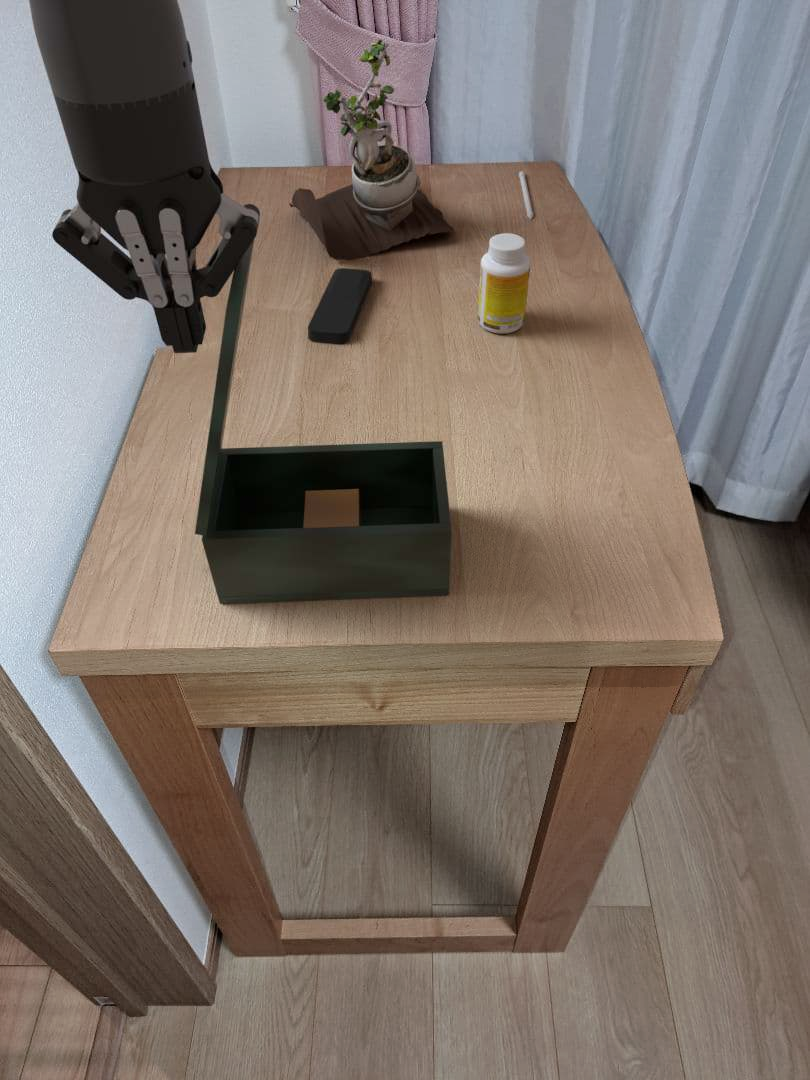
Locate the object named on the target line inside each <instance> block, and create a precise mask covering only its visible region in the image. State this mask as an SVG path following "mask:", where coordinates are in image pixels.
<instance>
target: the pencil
mask: <svg viewBox="0 0 810 1080" xmlns="http://www.w3.org/2000/svg"><path fill="white" fill-rule="evenodd" d="M518 178H519V180H520V186H521V192H522V195H523V200H524V205H525V210H526V214H527V215H526V216H527V218H528V219H529V220H532V219H534V213H533V208H532V204H531V203H532V202H531V198H530V193H529V189H528V184H527V180H526V179H527V178H526V174H525V172H524V170H523V171H519V173H518Z"/></svg>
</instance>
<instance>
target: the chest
mask: <svg viewBox="0 0 810 1080" xmlns="http://www.w3.org/2000/svg"><path fill="white" fill-rule="evenodd" d="M444 453H445V452H444V445H443V441H442V440H438V441H437V440H435V441H433V440H432V441H408V442H406V441H405V442H376V443H375V442H374V443H373V442H371V443H348V444H347V443H345V444H344V443H343V444H316V445H315V444H314V445H313V444H312V445H311V444H310V445H283V446H256V447H255V446H254V447H251V446H250V447H226V448H225V447H224V448H223V447H222V448H221V454H220V459H219V465H218V471H217V476H216V482H215V487H214V493H213V499H212V504H211V510H210V516H209V521H208V527H207V533H206V536H203V535H201V536H202V537H201V543H202V546H203V549H204V553H205V557H206V560H207V564H208V568H209V571H210V576H211V578H212V581H213V585H214V588H215V592H216V596H217V599H218V602H219V603H218V604H219V605H220V604H221V605H222V604H223V605H225V604H226V605H227V604H248V603H249V604H250V603H253V604H254V603H278V602H304V601H308V602H309V601H332V600H333V601H334V600H335V601H336V600H358V599H359V600H360V599H383V598H384V599H386V598H389V599H390V598H413V597H414V598H415V597H418V598H419V597H441V596H449V595H450V583H451V582H450V581H451V561H452V560H451V559H452V537H453V536H452V535H453V529H452V521H451V511H450V510H451V509H450V502H449V491H448V481H447V473H446V462H445V454H444ZM342 489H359V495H360V509H361V523H362V526H347V527H318V528H303V522H304V506H305V491H315V490H342Z"/></svg>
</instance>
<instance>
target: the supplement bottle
mask: <svg viewBox="0 0 810 1080" xmlns="http://www.w3.org/2000/svg"><path fill="white" fill-rule="evenodd" d="M479 270H480V271H479V286H478V303H477V321H478V324H479V325H480V327H481V328H483V329H484V330H486V331H488V332H490V333H493V334H498V335H499V334H501V335H504V334H510V333H511V334H512V333H514V332H516V331H518V330H519V329H521V328H522V327H523V325H524V323H525V319H526V311H527V310H526V309H527V301H528V292H529V291H528V290H529V281H530V271H531V259H530V257H529V256H528V255H527V254H526V240H525V239H524V238H523V236H520V235H518V234H515V233H510V232H508V233H507V232H505V233H498V234H495V235H493V236H492V237H490V239H489V243H488V251H487V252H486V253H485V254H483V256H482V257H481V260H480V269H479Z"/></svg>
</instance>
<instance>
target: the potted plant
mask: <svg viewBox="0 0 810 1080" xmlns="http://www.w3.org/2000/svg"><path fill="white" fill-rule="evenodd" d="M388 47H389V43H388V42H387V40H385V41H384V43H383V40H382V39H380V38H379V39H378V40H377V41H375V42H372V43H371V44H370V51H368V49H364V51H363V55H359V60H360V62H362V63H367V62H368V64H370V68H371V72H372V74H371V76H370V79H369V80H368V82H367V83H366V85H365V87H364V89H362V91H361V92H360V93H361V94H360V96H359V97H358V98H357V95H355V94H353V95H351V96H350V98H349V99H346V97H345V96H341V95H342V93H341V91H340V90H339V89H336V90H335V91H334V92H332V91H329V92H328V93H327V95H326V96H324V98H323V102H324V103H325V107H326V110H327V111H332V112H333V113H335V114H338V113H339V112H340V110H341V105H340V104H342V107H343V108H342V110H343V113H342V115H341V116H340V117H339V119H340V121H341V122H340V124H341V125H342V126H343V125H344V126H343V127H341V129H340V135H341V136H342V137H346V136H347V135H348V134H350V135H351V140H350V141H349V146H348V155H349V159H350V160H351V162H352V164H351V183H352V184H349V185H347V186H344V187H341V188H339V189H336V190H334V191H331V192H330V193H327V194H325V195H324V196H322V197H319V198H316V196H315V194H314V192H313V191H312V190H311V189H309V188H308V189H306V188H302V187H298V189H295V191H294V193H293V194H292V198H291V203H290V202H289V204H288V205H289V208H290V207H291V208H295V209H297V211H299V213H300V214H301V215H302V216H303V218H304V219H305V220H306V222H307V223H308V224H309V226H310V227H311V229H312V230H313V232H314V233H315V234H316V237H318V240H319V241H320V242H321V244H322V246H323V247H324V249H325V251H326V252H327V255H328V256H329V258H330V259H334V260H340V259H344V260H346V261H350V260H356V259H359V258H366V257H370V256H371V255H373V254H378V253H380V252H381V251H387V250H390V248H392V247H396V246H397V245H400V244H402V243H404V242H407V243H409V241H411V240H412V239H416V240H418V239H419V238H421V237H425V236H426V235H427V234H429V235H434V234H438V233H447V232H448V233H450V232H451V233H453V232H454V233H455V234H457V233H456V231H455V228H454V226H452V225H450V224H449V223H448V222H447V220H446V219H445V218H444V215H443V211H442V210H440V209H439V207H438V208H437V207H435V206H434V205H433V204H432V203H431V202H430V200H429V199H428V197H427V196H426V194H424V193H423V192H422V191H421V190H420V189H419V188H420V186H421V181H420V177H419V175H418V173H417V170H416V167H415V163H414V160H413V158H412V157H411V154H410V153H409V152H408V150H407V149H406V148H404V147H402V146H400V145H396V144H394V143H395V142H394V140H393V137H392V136H391V135H392V123H391V122H389V121H388V120H382V119H381V115H380V114H379V112H378V111H377V110H378V109H379V108H380V107H381V106H382V107H383V108H385V107H386V105H385V103H386V101H387V100H388V95H391V94H393V93H394V91H395V88H394V87H393V86H390V85H384V86H383V87H382V84H380V82H378V81H375V83H374V79H375V78H376V77H379V72H380V68H381V65H382V63H383V62H384V60H385V63H386V67H389V66H390V65H391V57H390V56H389V55H388V53H387V49H388ZM381 87H382V88H381ZM370 88H371V89H373V88H377V89H378V90H379V98H378V94H374V96H373V98H372V99H370V100H369V99H367V103H366V105H365V107H364V106H362V102H363V101H364V100H365V96H366V95H367V92H368V91H369V89H370ZM340 98H341V100H340ZM350 105H351V106H350ZM363 112H364V113H363ZM378 121H379V122H378ZM385 129H387V130H385ZM384 139H385V144H379V142H382V141H384ZM355 153H356V155H355Z"/></svg>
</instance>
